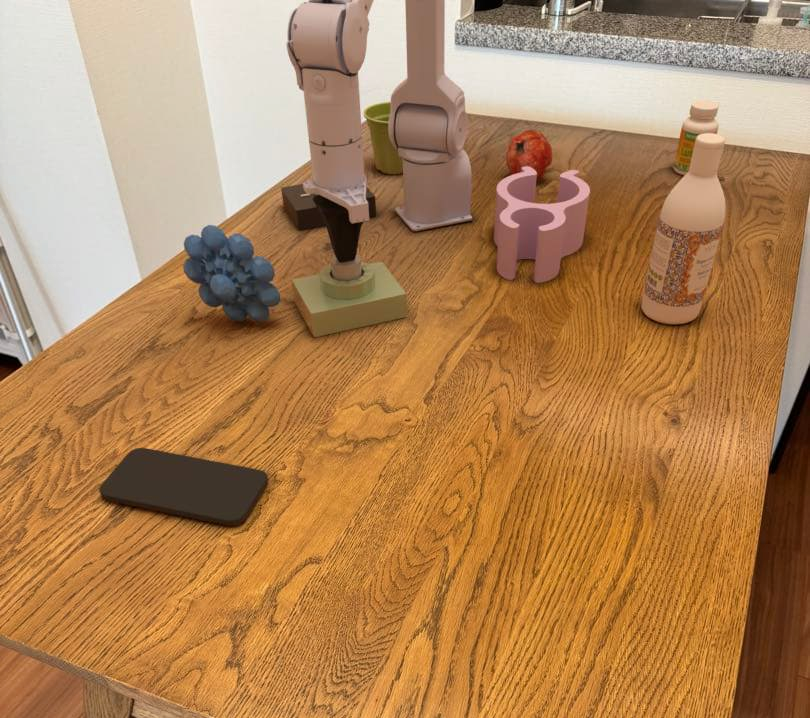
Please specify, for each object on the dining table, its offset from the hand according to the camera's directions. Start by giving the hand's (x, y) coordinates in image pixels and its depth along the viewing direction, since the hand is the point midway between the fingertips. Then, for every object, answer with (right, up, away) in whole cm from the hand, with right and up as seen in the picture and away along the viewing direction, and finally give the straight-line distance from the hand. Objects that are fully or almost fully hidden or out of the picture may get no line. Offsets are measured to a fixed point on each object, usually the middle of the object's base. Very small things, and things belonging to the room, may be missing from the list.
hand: (345, 258), depth 93 cm
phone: (-14, -29, -18) cm, 37 cm away
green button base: (0, -5, +5) cm, 7 cm away
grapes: (-14, -7, +3) cm, 16 cm away
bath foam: (+40, -6, +3) cm, 40 cm away
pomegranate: (+27, +24, +32) cm, 49 cm away
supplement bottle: (+53, +26, +33) cm, 67 cm away
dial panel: (-4, +16, +25) cm, 30 cm away
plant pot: (+5, +28, +37) cm, 47 cm away
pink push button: (0, -1, +2) cm, 2 cm away
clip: (+25, +7, +16) cm, 30 cm away
